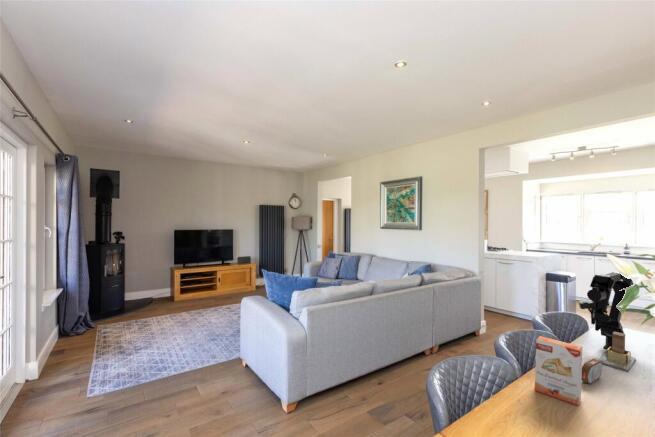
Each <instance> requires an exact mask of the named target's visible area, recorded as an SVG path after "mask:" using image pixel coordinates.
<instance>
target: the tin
mask: <svg viewBox="0 0 655 437" xmlns="http://www.w3.org/2000/svg"><path fill="white" fill-rule="evenodd" d="M602 368H603V364H602V362H600V361H598V359H595V358H592V359H590V360H588V361H585V362H584V363H582V380H581V382H584V383H586V384H589V385H590V384H593V383H594V382H595V381H598V380H599V379H600V377H601V375H602V371H603V370H602Z"/></svg>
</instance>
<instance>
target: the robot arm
mask: <svg viewBox="0 0 655 437" xmlns="http://www.w3.org/2000/svg"><path fill="white" fill-rule="evenodd" d="M619 272H620V271H611V272H610V273H609V272H608V273H607V274H601V273H600V274H599V273H596V274H594V276H593V277H592V280H591V282H590V286H589V288H591V289H590V290H588V291H587V293H586V295H587V298H588V299H589V300H588V299H587V300H578V306H579V309H581V310H585V309H587V310H588V312H589V313H590V323H591V324H592V325H594V330H595V331H596V332H598V331H599V330H600V335H601V336H604V337H605V341H604V342H605V344H604V345H603V347H602V348H604V349H606V350H607V349H608V348H609V347H610V346H611V347H612V334H613V332H619V333H623V334H625V332H624V329H623V328H624V327H623V326H622V323H621V319H622V314H623V312H622V313H621V312H620V311H619V310H618V309H617V308H616V305H617V304H618V303H619V302H620V301H621V300H622V298H623V296H624V294H625V290H622V291H619V290H621V289H623V288H626V287H629V286H631V285H633V284H634V281H633V280H632V278H630V279H627V278H625V277H624V276H622V275H621V274H620V273H619ZM634 285H635V284H634ZM612 291H613V292H614V294H613V298H612V302H611V306H610V303H609V302H610V298H611V294H612ZM609 306H610V310H609V312H608V307H609ZM608 313H609V314H608Z"/></svg>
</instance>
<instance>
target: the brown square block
mask: <svg viewBox="0 0 655 437" xmlns="http://www.w3.org/2000/svg"><path fill="white" fill-rule="evenodd" d="M625 350H626V333H624V334H623V333H619V332H613V334H612V351H614V352H617V353H621V354H625Z"/></svg>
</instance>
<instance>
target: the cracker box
mask: <svg viewBox="0 0 655 437" xmlns="http://www.w3.org/2000/svg"><path fill="white" fill-rule="evenodd" d="M535 342H536V343H535V344H536V345H535V368H534V369H535V370H534V372H535V373H534V391H536V392H539V393H542V394H544V395H546V396H550V397H553V398H555V399H558V400H561V401H563V402H566V403H569V404H572V405H575V406H577V407H579V406H580V403H581V400H582V381H581V380H582V366H583V346H581V345H576V344H573V343H568V342H564V341H561V340H556V339H553V338H550V337H546V336H545V337H544V336H541V335H539V336H538V337H537V338H536V341H535Z"/></svg>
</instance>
